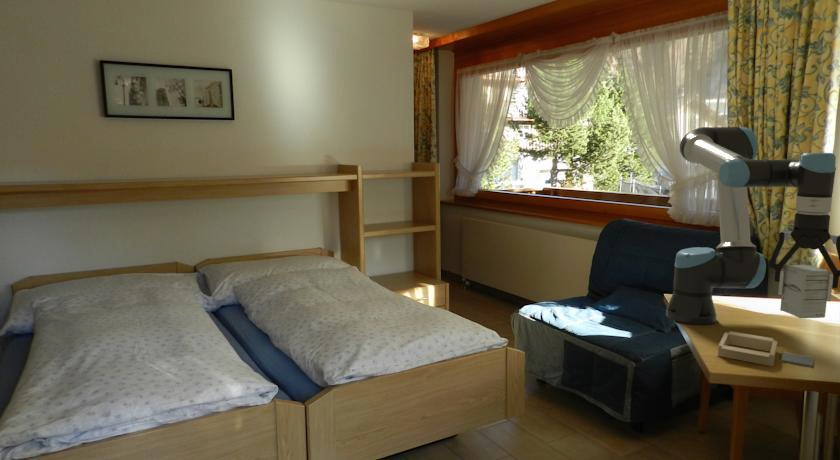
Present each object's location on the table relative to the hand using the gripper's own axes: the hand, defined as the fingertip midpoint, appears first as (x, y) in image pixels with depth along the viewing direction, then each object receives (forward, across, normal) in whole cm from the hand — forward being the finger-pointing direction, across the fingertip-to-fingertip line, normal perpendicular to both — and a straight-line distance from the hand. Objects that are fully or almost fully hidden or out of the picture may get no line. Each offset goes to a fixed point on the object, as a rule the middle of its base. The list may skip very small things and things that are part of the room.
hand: (803, 296), depth 149 cm
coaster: (+18, 0, 0) cm, 18 cm away
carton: (+18, -12, -2) cm, 21 cm away
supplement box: (+5, 0, 0) cm, 5 cm away
